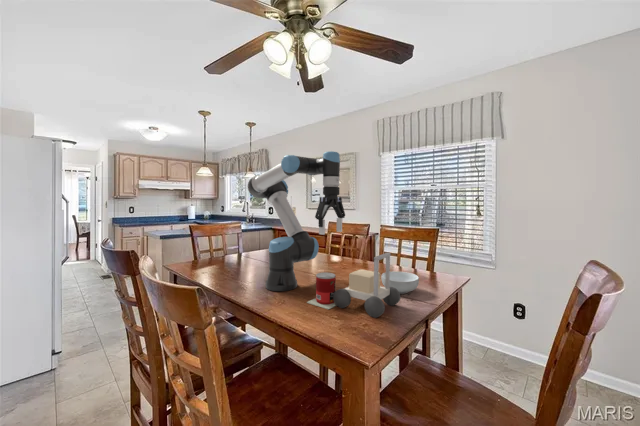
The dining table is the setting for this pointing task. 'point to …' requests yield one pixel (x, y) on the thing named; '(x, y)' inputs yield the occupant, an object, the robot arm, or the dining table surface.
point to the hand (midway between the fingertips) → (330, 233)
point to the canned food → (325, 287)
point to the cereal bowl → (402, 281)
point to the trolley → (369, 289)
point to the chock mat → (326, 306)
